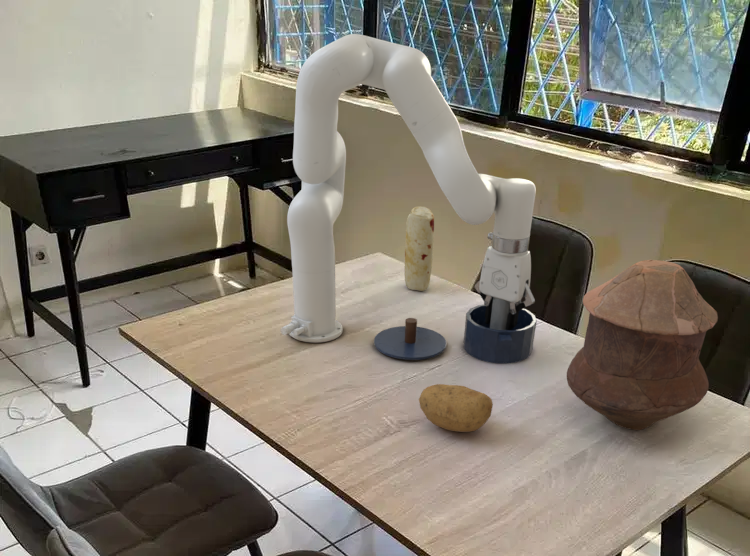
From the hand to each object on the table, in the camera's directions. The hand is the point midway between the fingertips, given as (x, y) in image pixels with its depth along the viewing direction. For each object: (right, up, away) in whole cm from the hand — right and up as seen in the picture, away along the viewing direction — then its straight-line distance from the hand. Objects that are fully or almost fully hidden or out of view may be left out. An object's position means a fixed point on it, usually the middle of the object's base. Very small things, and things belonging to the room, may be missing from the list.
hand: (500, 324), depth 171 cm
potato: (-13, -25, -24) cm, 37 cm away
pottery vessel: (+21, -23, -20) cm, 37 cm away
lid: (-20, -4, +3) cm, 20 cm away
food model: (-17, +17, +32) cm, 40 cm away
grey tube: (0, -2, +2) cm, 3 cm away
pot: (0, -5, +3) cm, 6 cm away
